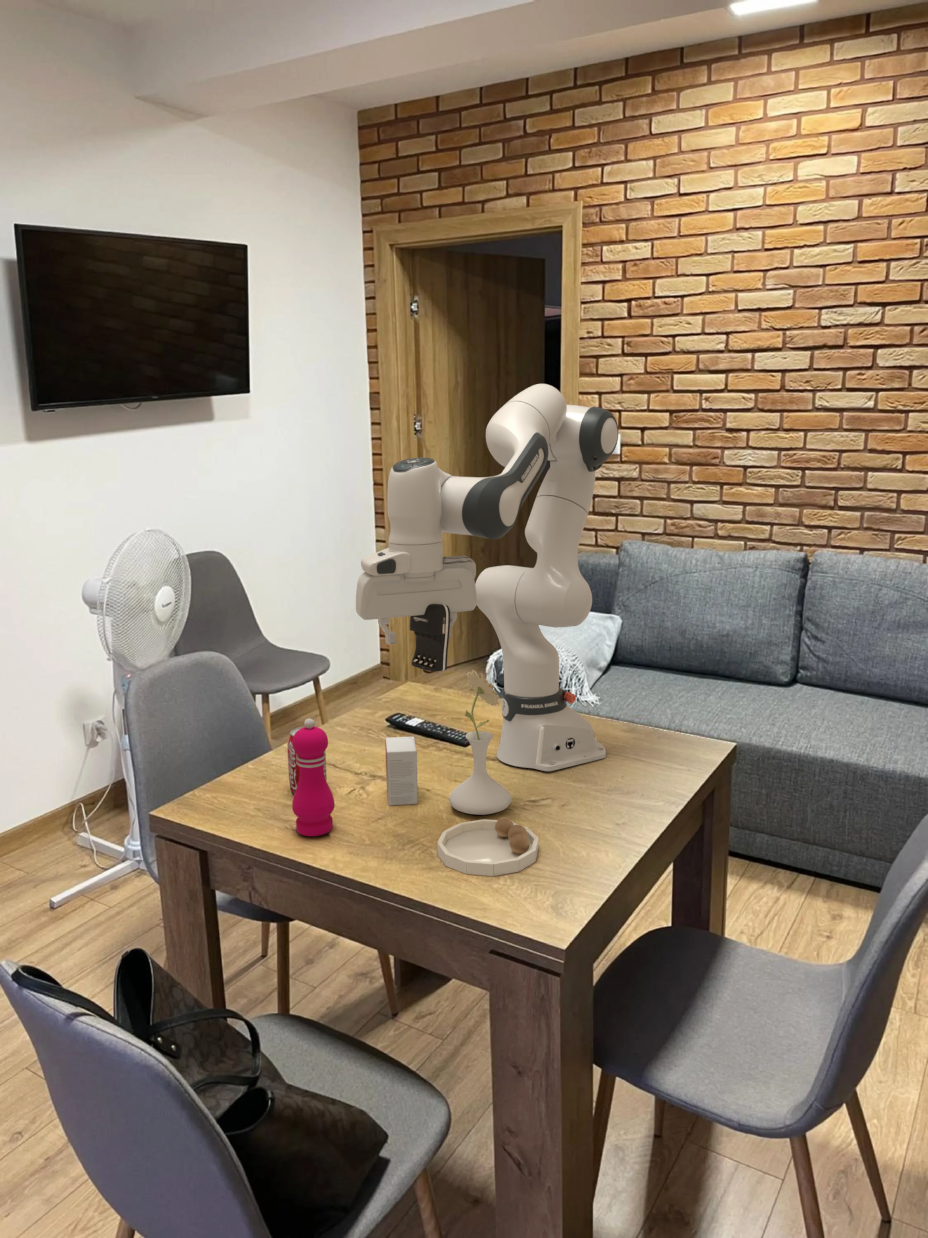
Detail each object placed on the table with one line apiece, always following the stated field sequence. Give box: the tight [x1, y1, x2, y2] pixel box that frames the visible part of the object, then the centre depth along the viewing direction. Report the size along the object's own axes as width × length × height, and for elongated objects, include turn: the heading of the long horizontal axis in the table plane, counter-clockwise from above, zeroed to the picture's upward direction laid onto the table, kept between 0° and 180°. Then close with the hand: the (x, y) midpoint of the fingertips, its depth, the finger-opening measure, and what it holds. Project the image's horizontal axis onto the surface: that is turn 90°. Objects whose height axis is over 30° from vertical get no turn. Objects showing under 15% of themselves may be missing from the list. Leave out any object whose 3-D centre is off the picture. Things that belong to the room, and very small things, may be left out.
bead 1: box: [495, 817, 514, 837], centre depth 161 cm, size 3×3×3 cm
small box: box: [384, 736, 419, 807], centre depth 179 cm, size 8×6×10 cm
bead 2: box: [508, 824, 527, 840], centre depth 159 cm, size 3×3×3 cm
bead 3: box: [510, 834, 530, 854], centre depth 155 cm, size 3×3×3 cm
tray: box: [436, 818, 540, 877], centre depth 157 cm, size 16×16×2 cm
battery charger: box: [409, 604, 450, 672], centre depth 161 cm, size 7×4×11 cm, turn 42°
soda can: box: [286, 725, 328, 794], centre depth 182 cm, size 7×7×12 cm
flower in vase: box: [448, 669, 513, 816], centre depth 173 cm, size 13×11×25 cm
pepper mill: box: [291, 718, 336, 837], centre depth 165 cm, size 7×7×20 cm
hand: (418, 640), depth 161 cm, fingers open, 8 cm apart
